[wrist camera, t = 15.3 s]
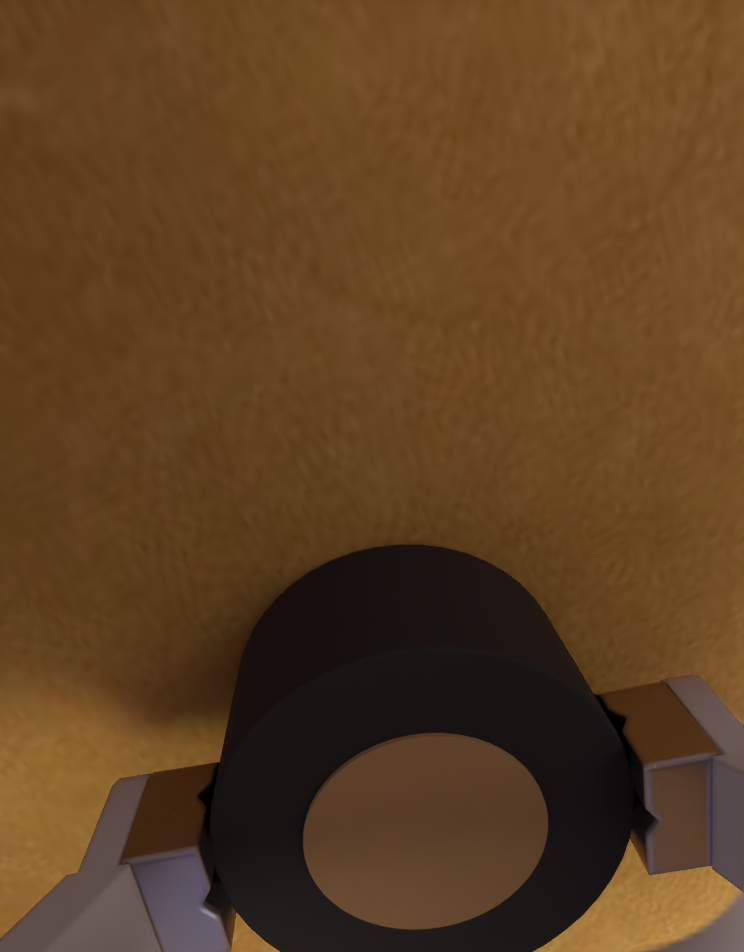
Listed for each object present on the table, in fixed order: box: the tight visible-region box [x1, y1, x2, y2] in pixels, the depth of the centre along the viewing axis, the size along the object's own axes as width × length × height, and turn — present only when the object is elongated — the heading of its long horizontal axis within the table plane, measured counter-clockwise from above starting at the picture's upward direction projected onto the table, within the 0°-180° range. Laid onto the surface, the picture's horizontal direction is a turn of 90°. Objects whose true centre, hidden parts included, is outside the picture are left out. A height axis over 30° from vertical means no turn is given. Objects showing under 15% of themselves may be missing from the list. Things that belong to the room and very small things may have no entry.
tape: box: [209, 545, 635, 952], centre depth 10 cm, size 6×6×3 cm
